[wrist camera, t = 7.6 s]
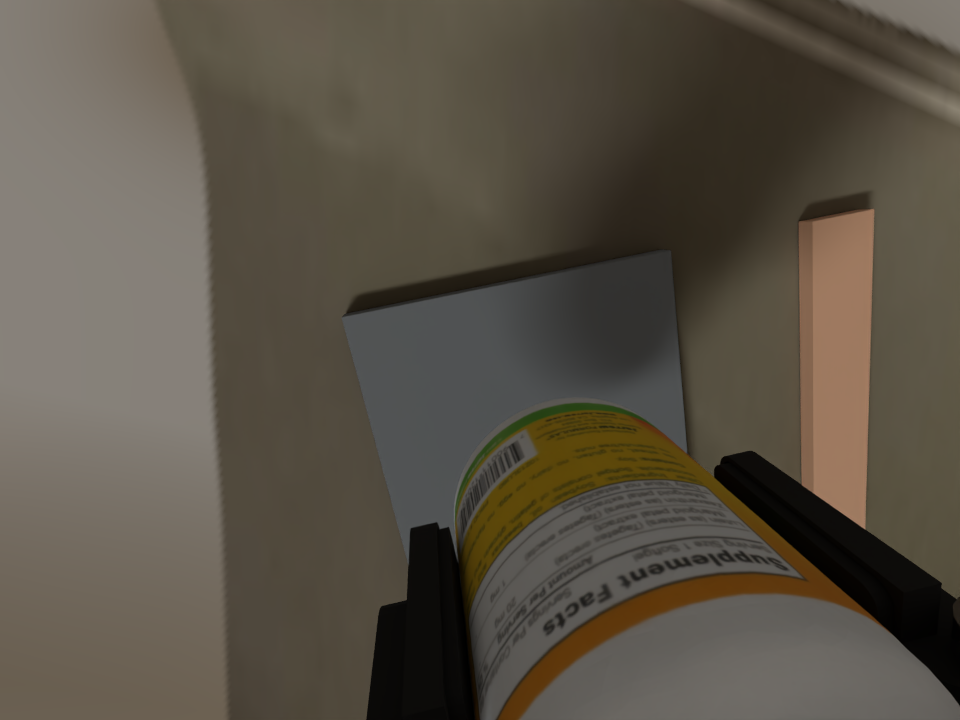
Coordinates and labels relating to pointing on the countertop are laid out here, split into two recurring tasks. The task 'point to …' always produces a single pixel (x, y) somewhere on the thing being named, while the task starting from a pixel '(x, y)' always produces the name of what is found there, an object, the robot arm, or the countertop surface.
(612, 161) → the countertop surface
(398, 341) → the pad
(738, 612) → the supplement bottle
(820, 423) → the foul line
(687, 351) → the countertop surface
